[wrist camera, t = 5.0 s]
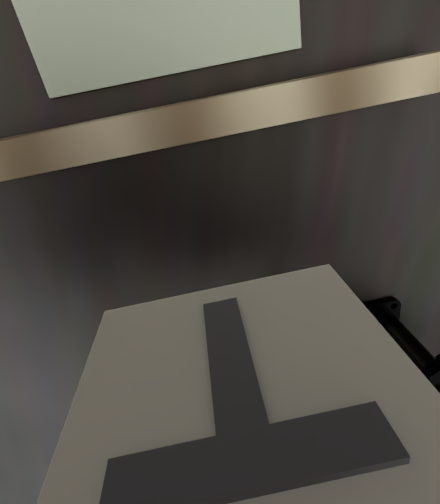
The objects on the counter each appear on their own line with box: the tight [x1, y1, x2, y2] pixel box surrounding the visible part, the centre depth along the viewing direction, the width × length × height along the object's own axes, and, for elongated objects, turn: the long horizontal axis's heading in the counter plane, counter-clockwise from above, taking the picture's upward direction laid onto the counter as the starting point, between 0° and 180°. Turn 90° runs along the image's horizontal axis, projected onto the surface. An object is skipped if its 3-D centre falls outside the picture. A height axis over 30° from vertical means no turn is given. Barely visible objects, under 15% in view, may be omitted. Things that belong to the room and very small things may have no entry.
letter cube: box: [36, 264, 440, 504], centre depth 7 cm, size 6×6×6 cm
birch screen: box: [0, 51, 440, 182], centre depth 14 cm, size 24×2×4 cm, turn 100°
